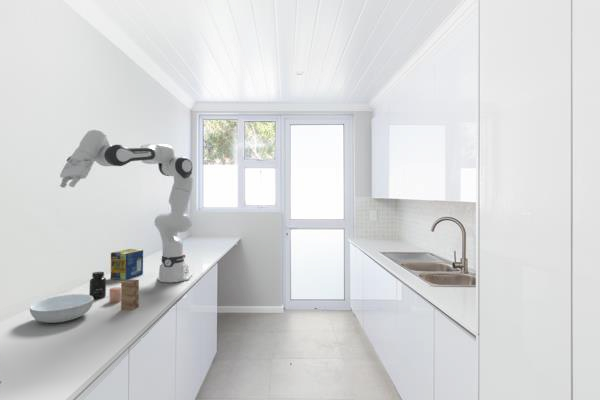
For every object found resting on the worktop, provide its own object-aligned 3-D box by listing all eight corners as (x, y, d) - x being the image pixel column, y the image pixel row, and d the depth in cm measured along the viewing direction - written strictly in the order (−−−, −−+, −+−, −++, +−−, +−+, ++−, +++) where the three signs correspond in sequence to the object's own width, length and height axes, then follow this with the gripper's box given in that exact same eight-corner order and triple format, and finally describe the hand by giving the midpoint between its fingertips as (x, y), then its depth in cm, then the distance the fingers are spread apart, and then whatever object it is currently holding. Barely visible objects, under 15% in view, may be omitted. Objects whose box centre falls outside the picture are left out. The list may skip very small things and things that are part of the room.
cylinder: (113, 299, 161) (113, 287, 161) (122, 300, 161) (122, 287, 161) (107, 302, 157) (107, 289, 157) (116, 303, 156) (116, 290, 156)
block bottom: (127, 306, 153) (127, 297, 153) (138, 306, 152) (138, 297, 152) (121, 309, 148) (121, 300, 148) (132, 310, 147) (132, 301, 147)
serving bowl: (38, 313, 142) (38, 297, 142) (97, 307, 150) (97, 292, 150) (21, 332, 123) (21, 313, 123) (88, 324, 131) (88, 306, 131)
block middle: (127, 297, 153) (128, 288, 152) (138, 297, 152) (138, 288, 152) (121, 300, 148) (121, 291, 147) (132, 301, 147) (132, 291, 147)
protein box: (110, 279, 200) (110, 252, 200) (129, 273, 215) (129, 248, 215) (125, 280, 198) (125, 253, 197) (143, 274, 213) (143, 249, 212)
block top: (128, 288, 152) (128, 279, 152) (138, 288, 152) (138, 279, 152) (121, 291, 147) (121, 282, 147) (132, 291, 147) (132, 282, 147)
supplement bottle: (98, 300, 161) (98, 274, 161) (85, 298, 162) (86, 273, 162) (109, 295, 167) (109, 271, 167) (97, 294, 169) (97, 270, 169)
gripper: (99, 162, 154) (83, 189, 148) (79, 165, 166) (64, 190, 160) (85, 154, 149) (69, 182, 144) (66, 158, 161) (50, 183, 156)
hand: (66, 186), depth 152 cm, fingers open, 8 cm apart
